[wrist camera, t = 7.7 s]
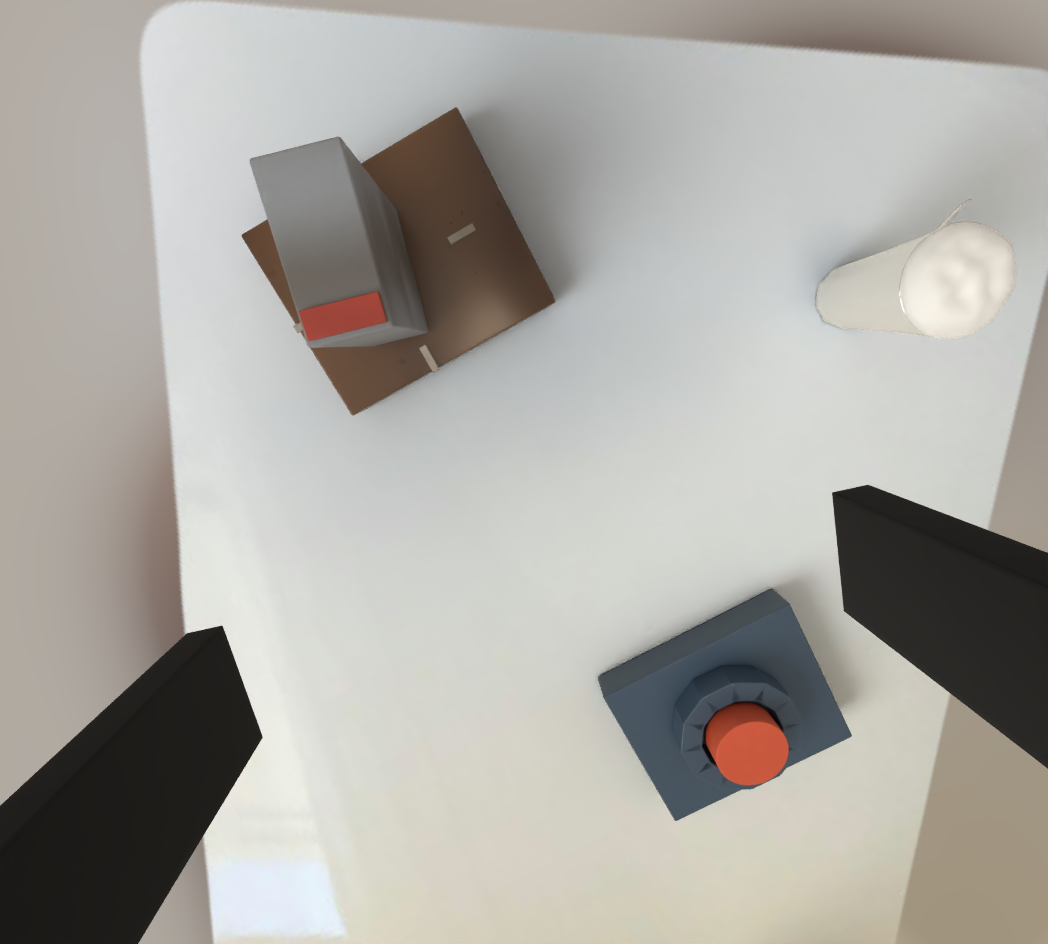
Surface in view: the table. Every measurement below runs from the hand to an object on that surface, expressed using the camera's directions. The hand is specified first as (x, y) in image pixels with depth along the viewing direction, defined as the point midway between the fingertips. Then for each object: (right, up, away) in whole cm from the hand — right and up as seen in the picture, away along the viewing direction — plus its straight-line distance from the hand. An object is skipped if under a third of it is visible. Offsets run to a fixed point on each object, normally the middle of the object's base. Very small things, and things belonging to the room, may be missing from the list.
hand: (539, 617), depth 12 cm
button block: (+12, -11, +24) cm, 29 cm away
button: (+12, -12, +21) cm, 27 cm away
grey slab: (-7, +13, +16) cm, 22 cm away
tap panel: (-6, +13, +18) cm, 24 cm away
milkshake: (+17, +13, +19) cm, 29 cm away
